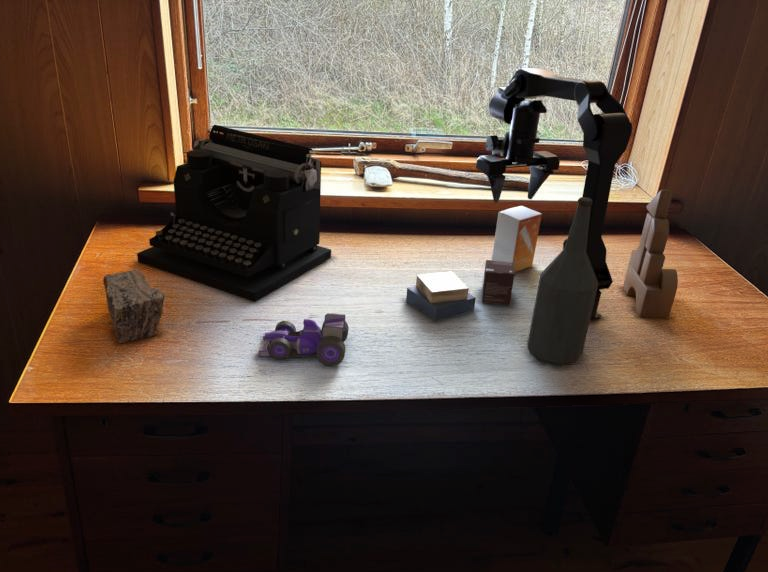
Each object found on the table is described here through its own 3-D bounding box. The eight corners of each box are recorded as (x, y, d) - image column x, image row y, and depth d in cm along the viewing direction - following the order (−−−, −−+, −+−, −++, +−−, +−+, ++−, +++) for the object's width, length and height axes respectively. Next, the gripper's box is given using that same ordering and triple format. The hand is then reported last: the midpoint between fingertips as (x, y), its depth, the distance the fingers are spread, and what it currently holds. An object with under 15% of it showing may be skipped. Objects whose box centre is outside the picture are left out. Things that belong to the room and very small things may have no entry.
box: (509, 293, 159) (514, 262, 155) (510, 306, 154) (515, 274, 150) (481, 290, 159) (485, 259, 155) (480, 303, 154) (485, 270, 150)
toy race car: (266, 334, 136) (265, 302, 133) (348, 339, 137) (349, 308, 133) (257, 361, 128) (255, 328, 125) (343, 367, 129) (345, 334, 125)
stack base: (474, 310, 151) (476, 297, 149) (435, 321, 145) (436, 308, 144) (444, 291, 157) (445, 278, 156) (405, 300, 152) (406, 287, 151)
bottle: (569, 373, 133) (605, 214, 117) (519, 356, 137) (547, 199, 121) (587, 349, 141) (623, 197, 125) (539, 334, 144) (568, 184, 129)
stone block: (171, 337, 132) (167, 299, 129) (118, 346, 128) (112, 307, 124) (154, 303, 143) (150, 266, 139) (104, 310, 139) (99, 273, 135)
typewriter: (137, 261, 158) (123, 144, 144) (223, 225, 178) (216, 119, 165) (254, 302, 146) (250, 178, 133) (331, 257, 167) (333, 147, 154)
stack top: (467, 299, 148) (469, 288, 147) (430, 303, 145) (432, 292, 144) (451, 282, 154) (452, 271, 153) (415, 285, 152) (416, 274, 150)
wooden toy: (670, 318, 155) (704, 204, 142) (639, 317, 154) (670, 201, 141) (648, 286, 168) (677, 178, 155) (620, 284, 168) (646, 176, 154)
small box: (510, 274, 167) (519, 220, 160) (489, 265, 171) (497, 211, 164) (533, 266, 172) (542, 213, 166) (512, 257, 176) (520, 204, 169)
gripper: (536, 119, 168) (526, 185, 176) (466, 122, 160) (459, 192, 168) (567, 132, 160) (554, 201, 168) (495, 136, 152) (485, 209, 160)
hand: (512, 200), depth 166 cm, fingers open, 9 cm apart
